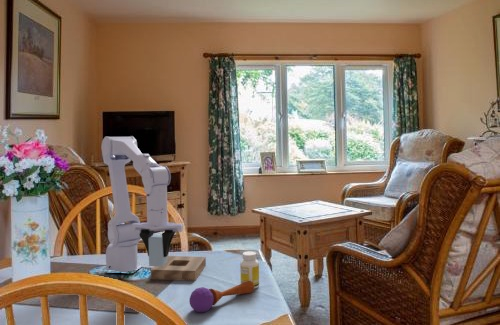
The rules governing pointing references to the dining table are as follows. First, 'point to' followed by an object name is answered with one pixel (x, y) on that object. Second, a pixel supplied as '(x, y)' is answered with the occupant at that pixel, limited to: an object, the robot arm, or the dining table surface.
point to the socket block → (179, 268)
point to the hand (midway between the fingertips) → (158, 255)
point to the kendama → (215, 295)
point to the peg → (156, 251)
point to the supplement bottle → (250, 268)
